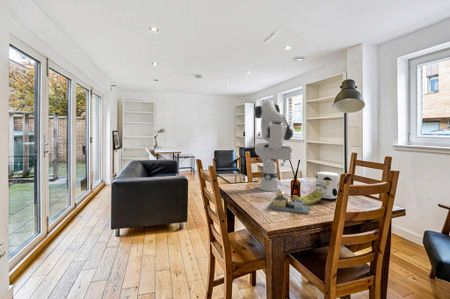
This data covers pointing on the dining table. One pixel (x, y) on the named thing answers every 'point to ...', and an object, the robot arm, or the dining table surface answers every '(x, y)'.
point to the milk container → (327, 184)
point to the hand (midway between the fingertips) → (275, 165)
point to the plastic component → (309, 198)
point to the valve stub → (280, 196)
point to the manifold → (289, 206)
